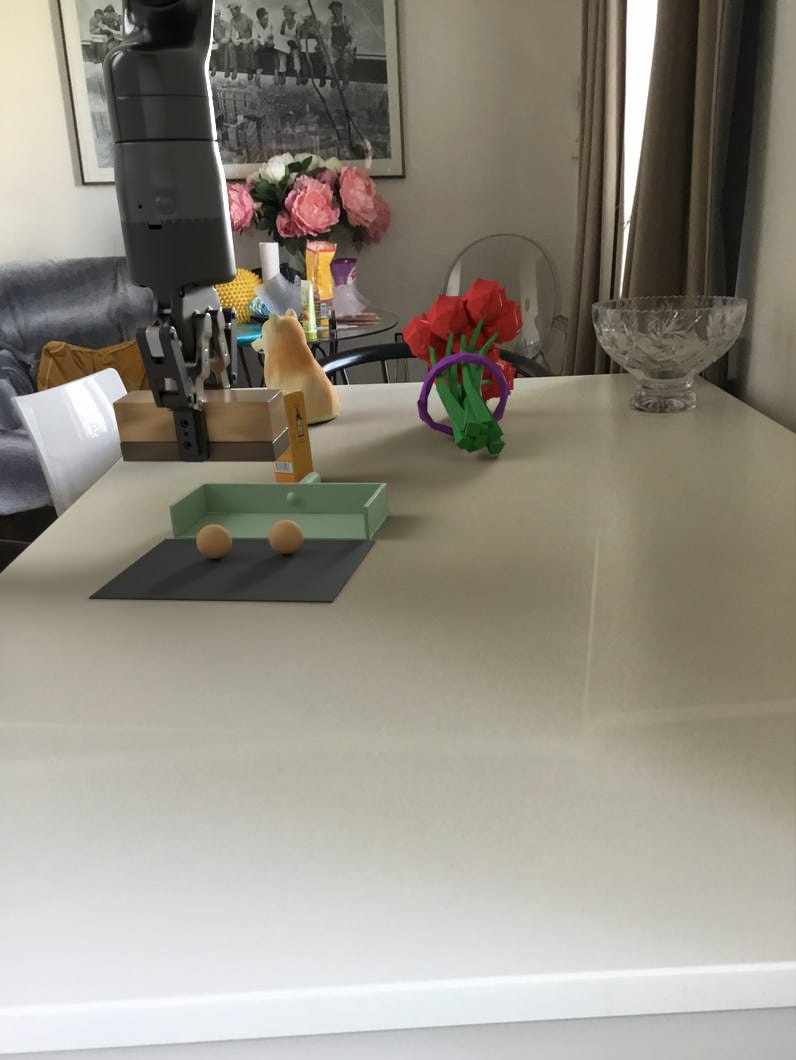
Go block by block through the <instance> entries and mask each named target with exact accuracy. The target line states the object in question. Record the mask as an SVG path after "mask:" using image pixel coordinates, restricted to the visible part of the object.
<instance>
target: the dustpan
mask: <svg viewBox="0 0 796 1060" xmlns="http://www.w3.org/2000/svg"><path fill="white" fill-rule="evenodd" d="M388 501H389V500H388V487H387V483H386V482H322V477H321V475H320V474H319V473H318V472H316V471H313V472H311V473H309V474H308V475H307V476H306V477H305V478H303V479H302V480H301V481H300V482H299V483H275V482H201V483H199V484H198V485H197V486H195V487H194V488H192V489H191V490H190V491H188V492H187V493H185V494H184V495H183V496H181V497H179V498H177V500H175V501H174V502H173V503H171V504H170V505H169V506H168V507H169V515H170V522H171V527H172V533H173V539H197V536H198V533H199V532H200V530H201V529H203V528H204V527H206V526H208V525H212V524H215V525H220V526H222V527H224V528H225V529H226V530H227V531H228V532H229V533H230V535H231V538H232V539H269V531H270V529H271V527H272V526H273V525H274V524H275V523H276V522H278V521H281V520H290V521H293V522H295V523H296V524H297V525H299V527H300V528H301V530H302V532H303V540H372V538H373V536H374V535H375V534H376V532H377V531H378V530H380V528H381V527H382V526H383V524H384V523H385V521H386V520H387V518H388V517H389V515H388V514H389V502H388Z"/></svg>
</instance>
